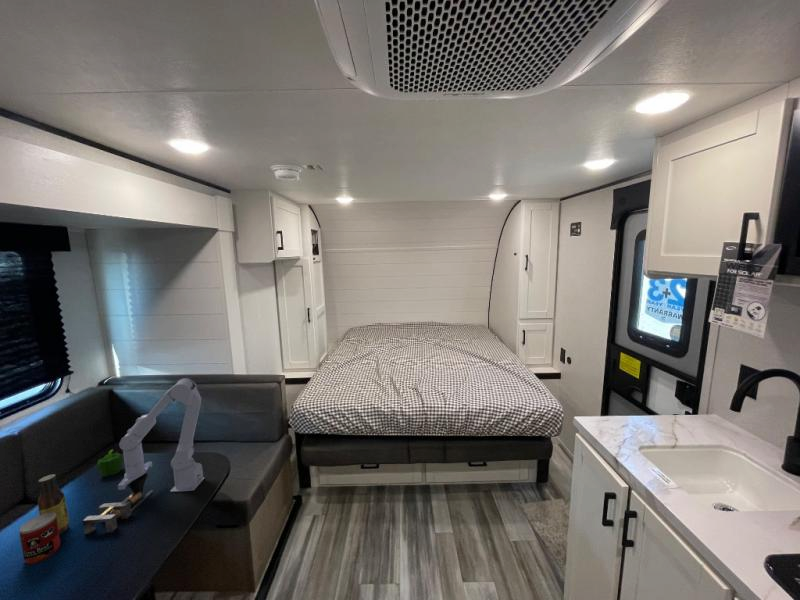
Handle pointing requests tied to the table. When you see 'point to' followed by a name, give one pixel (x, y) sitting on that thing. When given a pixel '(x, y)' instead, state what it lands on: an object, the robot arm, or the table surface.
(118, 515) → the tube
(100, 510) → the metal clamp tool
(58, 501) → the sauce bottle
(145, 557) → the table surface
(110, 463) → the bell pepper
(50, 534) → the canned food
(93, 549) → the table surface
